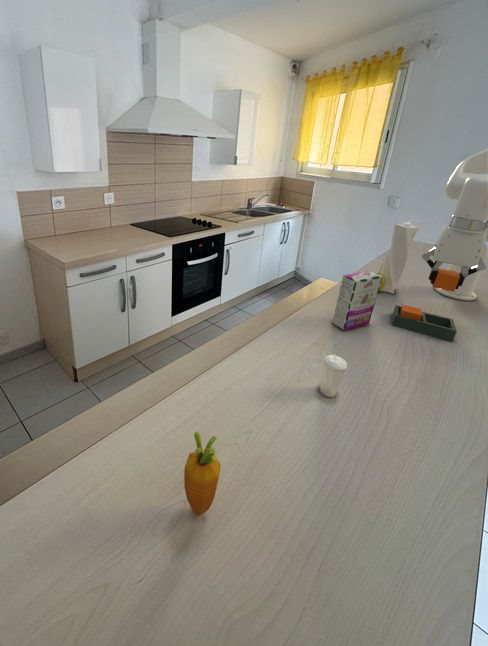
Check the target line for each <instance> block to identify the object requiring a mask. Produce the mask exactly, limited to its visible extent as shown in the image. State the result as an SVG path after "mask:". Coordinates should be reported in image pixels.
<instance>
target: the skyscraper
mask: <svg viewBox="0 0 488 646" xmlns="http://www.w3.org/2000/svg"><path fill="white" fill-rule="evenodd" d="M411 222H419V225H418V226H415V225H413V223H411ZM422 224H423V221H422V220H420V219H416V218H415V219H410V220H408V221H402V222H395V223H394V225H393V229H392V230H393V231H392V236H391V241H390V246H389V248H388V250H387V253H386V254H385V255H384V258H383V260H382V263H381V264H380V265H379V269H378V270H379V271H378V272H380V273H381V274H382V275H384V277H385V285H384V287H383V288H382V289H381V290H379V291H378V292H381V293H386V294H389V295H395V291H396V290H395V289H396V288H397V285H398V284H399V282H400V280H401V278H402V275H403V274H404V271H405V269H406V265H407V262H408V257H409V248H410V246H411V244H412V242H413V241H414V238H415V237H416V234H417V232H418V231H419V228H420V227H421V225H422Z"/></svg>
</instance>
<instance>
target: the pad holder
mask: <svg viewBox="0 0 488 646" xmlns="http://www.w3.org/2000/svg"><path fill="white" fill-rule="evenodd" d="M401 307H402V305H401V306H400V305H397V304H395V305H394V309H393V311H392V319H391V320H392V321H391V322H392V326H395V327H398V328H402V329H406V330H410V331H412V332H417V333H420V334H423V335H428V336H431V337H434V338H439V339H441V340H445V341H446V340H447V341H450V342H454V339H455V337H456V334H457V328H456V325H455V322H454V319H453V318H449V317H445V316H441V315H437V314H433V313H429V312H425V311H421V312H422V317H421V319H420V320H416V319H412V318H408V317H404V316H400V315H399V313H400V310H401Z"/></svg>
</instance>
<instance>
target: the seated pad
mask: <svg viewBox="0 0 488 646" xmlns="http://www.w3.org/2000/svg"><path fill="white" fill-rule="evenodd" d="M422 312H423V311H422V309H421V308H419V307H417V306H416V307H415V306H412V305H407V304H401V310H400V313H399V315H400V316H404V317H408V318H412V319H416V320H420V319H421V317H422Z"/></svg>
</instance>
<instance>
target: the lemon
mask: <svg viewBox="0 0 488 646" xmlns="http://www.w3.org/2000/svg"><path fill="white" fill-rule="evenodd" d="M376 273H377V274H379V275H381V276H383V277H382V280H381V284H380V287H379V290H381V289H382V288H383V287H384V285H385V277H384V275H382V274H381V273H380V272H379V271H378V272H376Z"/></svg>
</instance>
